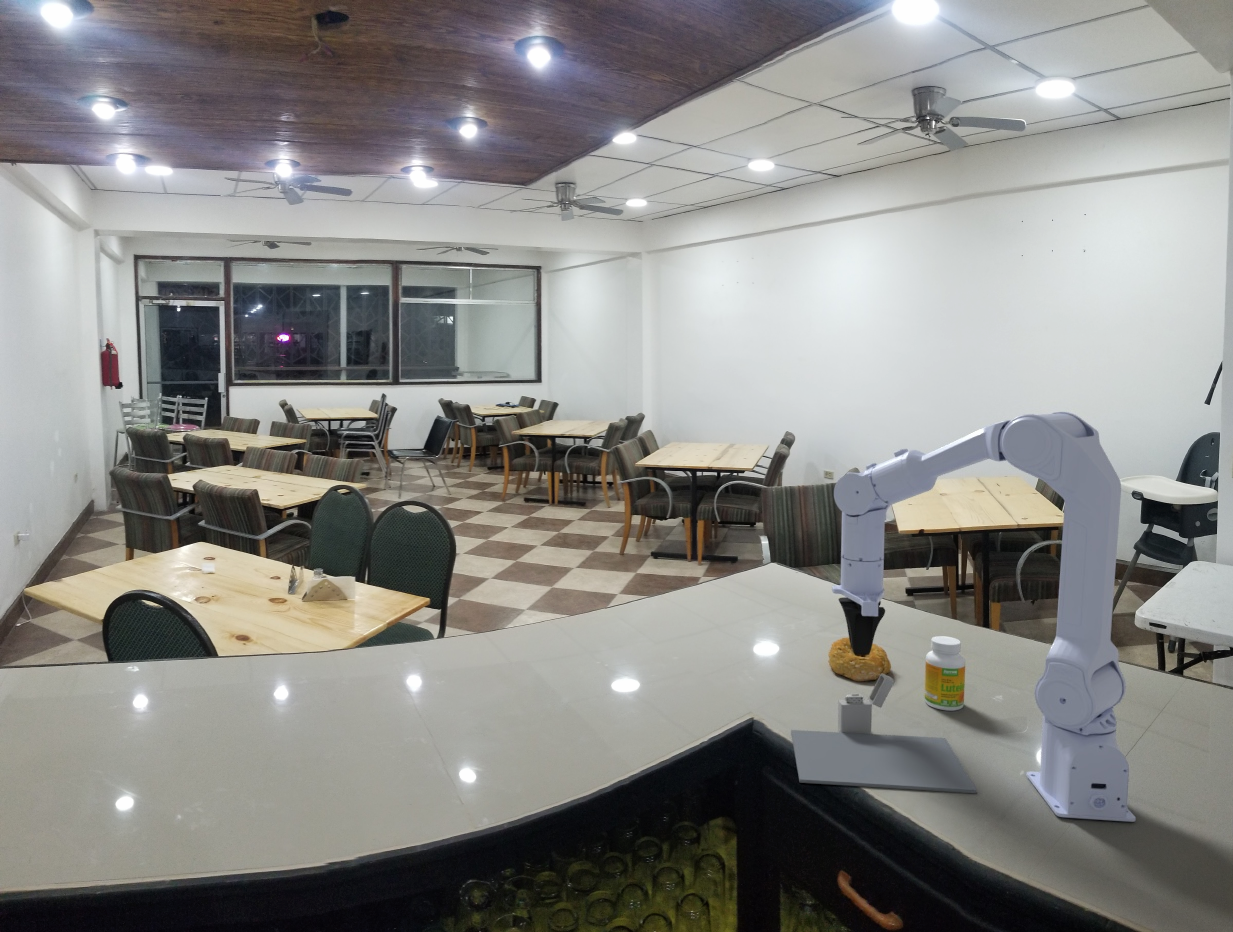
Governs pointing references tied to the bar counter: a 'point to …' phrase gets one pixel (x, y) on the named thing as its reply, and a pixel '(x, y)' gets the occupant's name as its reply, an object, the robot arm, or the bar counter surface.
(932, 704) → the supplement bottle
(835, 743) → the mat
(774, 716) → the bar counter surface
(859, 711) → the lighter
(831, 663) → the bagel
